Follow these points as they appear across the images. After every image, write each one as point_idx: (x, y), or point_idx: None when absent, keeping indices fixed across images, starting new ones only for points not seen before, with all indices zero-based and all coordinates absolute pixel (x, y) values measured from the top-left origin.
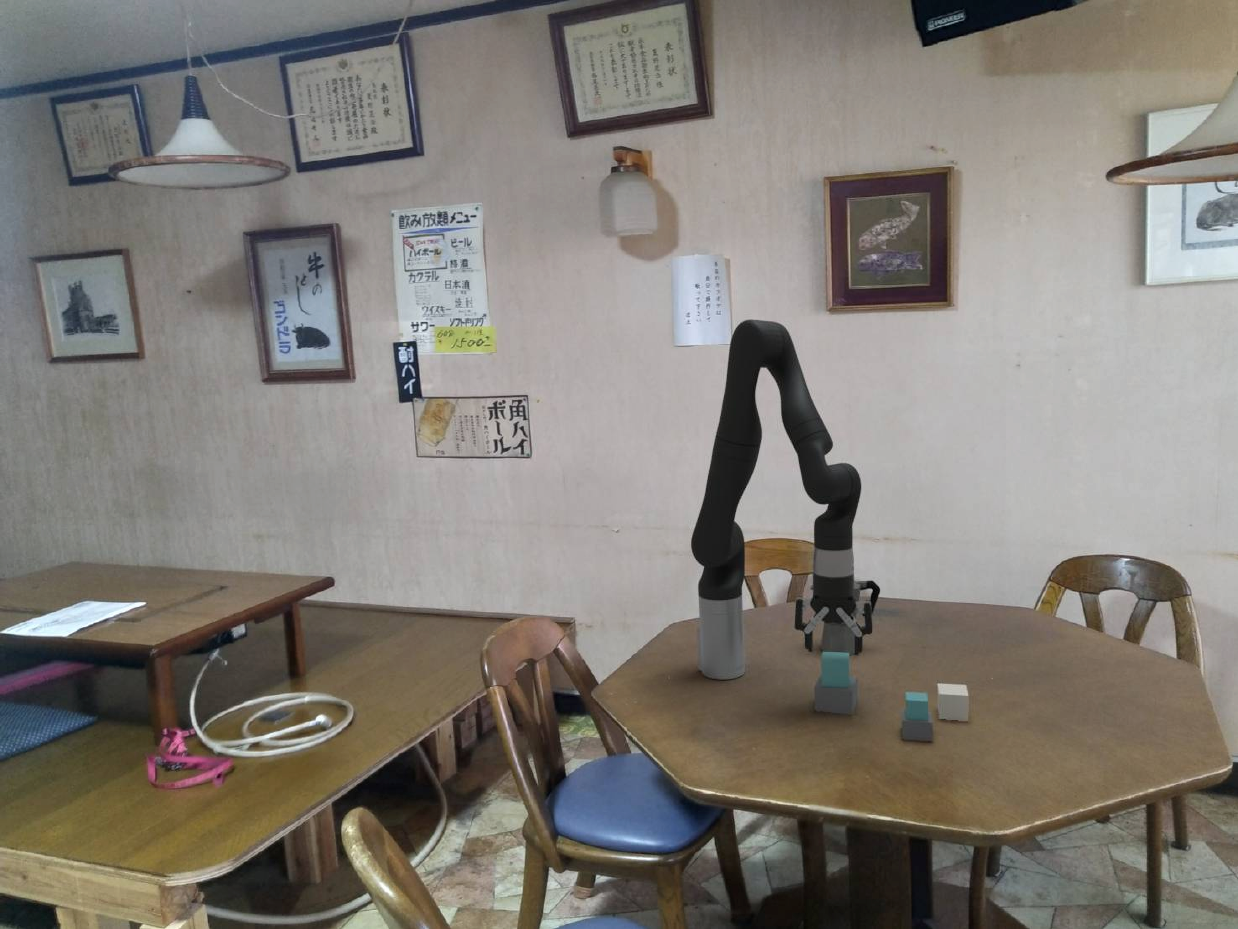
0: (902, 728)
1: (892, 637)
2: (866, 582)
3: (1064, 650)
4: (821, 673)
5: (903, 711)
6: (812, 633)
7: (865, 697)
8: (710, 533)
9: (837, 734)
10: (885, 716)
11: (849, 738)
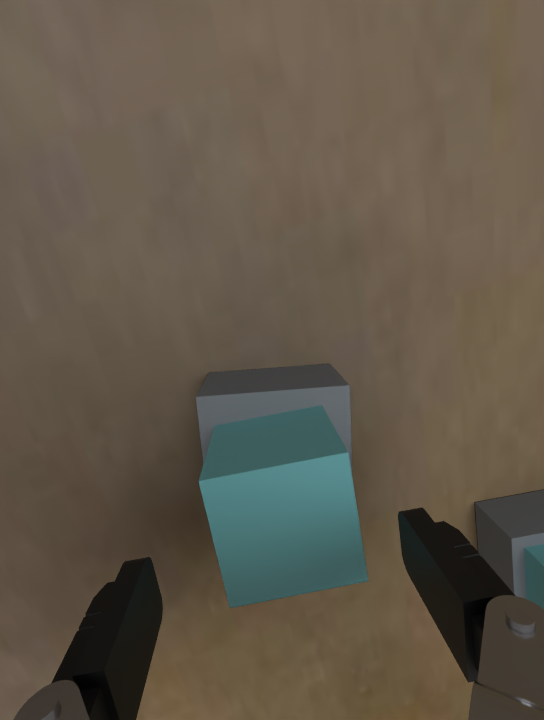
0: None
1: None
2: None
3: None
4: (199, 398)
5: (517, 556)
6: (117, 685)
7: (349, 330)
8: None
9: (316, 596)
10: (425, 449)
11: (350, 606)
